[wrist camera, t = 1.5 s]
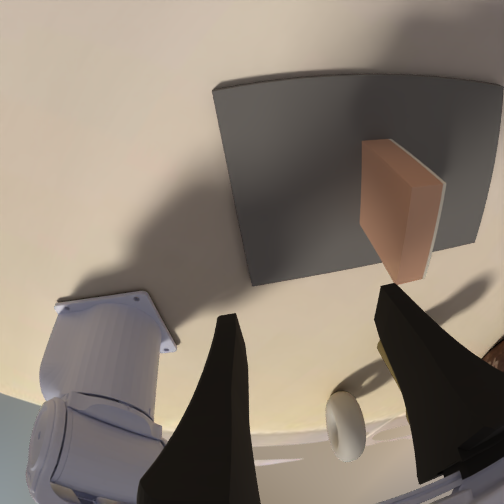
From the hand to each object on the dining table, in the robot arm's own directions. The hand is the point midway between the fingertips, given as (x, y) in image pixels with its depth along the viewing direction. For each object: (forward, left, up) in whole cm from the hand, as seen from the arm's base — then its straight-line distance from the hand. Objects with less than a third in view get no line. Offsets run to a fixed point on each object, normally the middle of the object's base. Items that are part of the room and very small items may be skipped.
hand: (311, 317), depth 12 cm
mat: (+7, 0, -10) cm, 12 cm away
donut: (+5, -31, -10) cm, 33 cm away
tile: (+6, 0, -9) cm, 11 cm away
